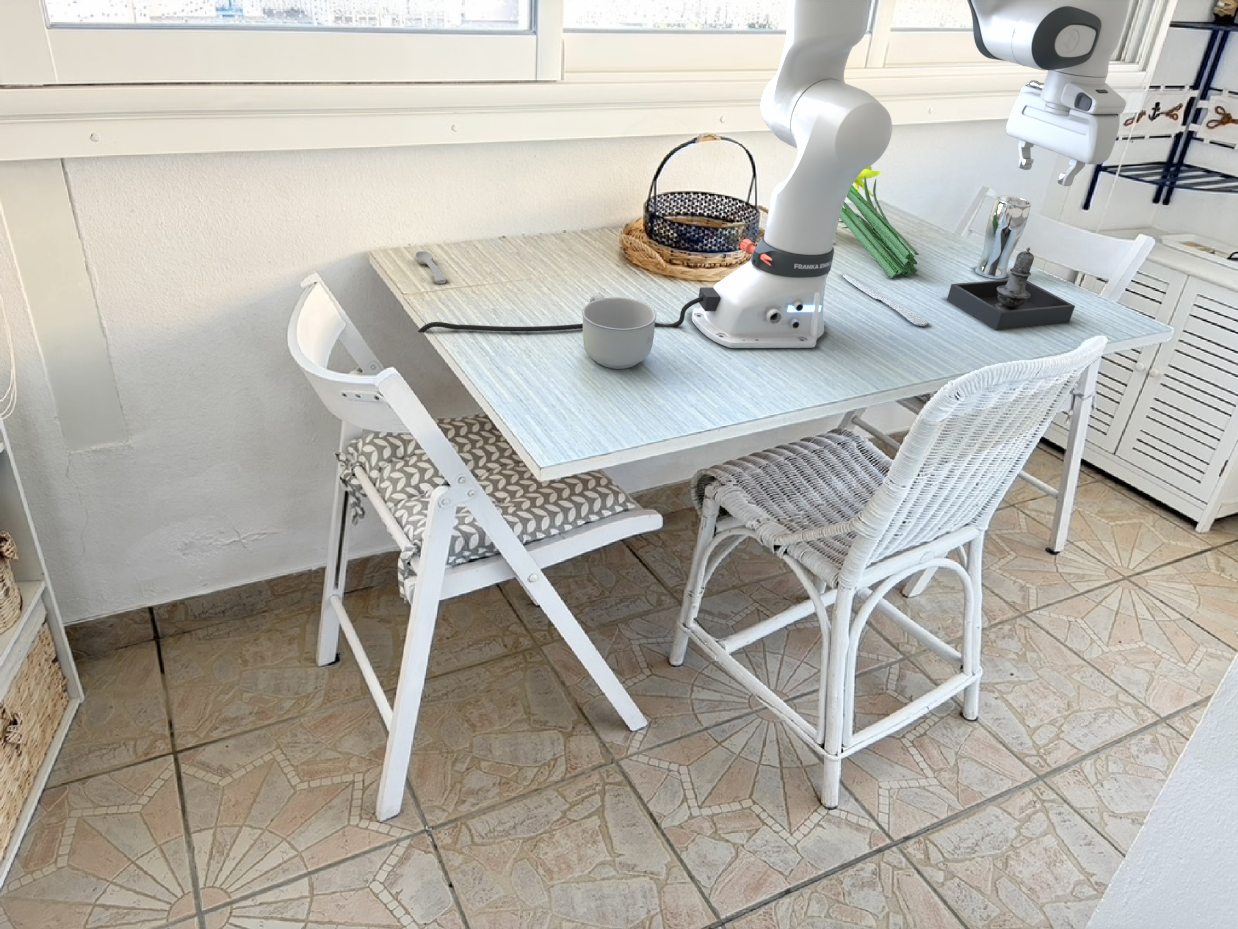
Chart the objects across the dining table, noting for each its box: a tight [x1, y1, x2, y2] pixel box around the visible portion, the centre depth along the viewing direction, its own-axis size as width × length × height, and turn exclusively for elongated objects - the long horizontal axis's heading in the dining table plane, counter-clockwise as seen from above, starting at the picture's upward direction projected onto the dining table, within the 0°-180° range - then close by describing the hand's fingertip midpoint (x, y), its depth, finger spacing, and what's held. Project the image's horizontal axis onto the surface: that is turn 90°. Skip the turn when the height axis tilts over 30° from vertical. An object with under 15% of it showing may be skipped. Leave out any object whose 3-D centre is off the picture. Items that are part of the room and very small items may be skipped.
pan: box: [946, 278, 1076, 331], centre depth 169 cm, size 17×13×3 cm
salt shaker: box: [993, 246, 1035, 311], centre depth 167 cm, size 6×6×12 cm
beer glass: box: [974, 195, 1032, 280], centre depth 183 cm, size 7×7×15 cm
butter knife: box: [842, 273, 929, 327], centre depth 169 cm, size 1×24×3 cm
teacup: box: [581, 293, 657, 370], centre depth 137 cm, size 14×11×8 cm
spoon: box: [414, 250, 447, 285], centre depth 161 cm, size 3×12×2 cm, turn 27°
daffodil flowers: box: [838, 165, 920, 280], centre depth 189 cm, size 17×15×35 cm
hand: (1043, 176), depth 157 cm, fingers open, 8 cm apart
